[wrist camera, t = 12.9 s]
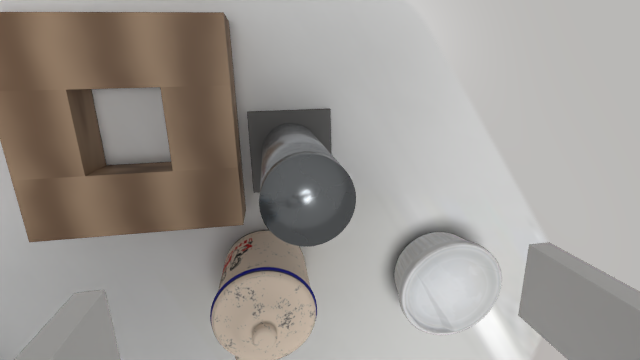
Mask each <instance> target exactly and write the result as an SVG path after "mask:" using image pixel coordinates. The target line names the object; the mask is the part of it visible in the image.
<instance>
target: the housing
mask: <svg viewBox="0 0 640 360" xmlns="http://www.w3.org/2000/svg"><path fill="white" fill-rule="evenodd" d="M146 87H160V88H161V95H162V102H163V108H164V115H165V122H166V129H167V136H168V142H169V149H170V156H171V162H160V163H141V164H123V165H106V161H105V156H104V151H103V146H102V141H101V136H100V131H99V126H98V121H97V116H96V111H95V106H94V101H93V96H92V91H91V89H107V88H146ZM0 141H1V144H2V148H3V151H4V155H5V158H6V162H7V165H8V169H9V172H10V176H11V179H12V183H13V186H14V190H15V193H16V197H17V201H18V204H19V208H20V211H21V215H22V218H23V222H24V225H25V229H26V232H27V236H28V239H29V242H37V241H50V240H62V239H75V238H87V237H99V236H112V235H124V234H137V233H149V232H161V231H174V230H186V229H199V228H211V227H223V226H236V225H243V223H244V217H245V211H246V207H245V196H244V184H243V173H242V162H241V151H240V140H239V129H238V118H237V107H236V96H235V85H234V74H233V62H232V51H231V40H230V29H229V21H228V19H227V18H226V16H225V14H224V13H193V12H0Z"/></svg>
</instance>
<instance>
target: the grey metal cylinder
mask: <svg viewBox="0 0 640 360" xmlns="http://www.w3.org/2000/svg"><path fill="white" fill-rule="evenodd" d="M355 204H356V193H355V188H354V185H353V182H352V180H351V178H350V176H349V175H348V173H347V172H346V171H345V170H344V168H343V167H342V166H341V165H340V164H339V163H338V162H337V160H336V159H335V158H334V157H333V156H332V155H331V154H330V152H329V151H328V150H327V149H326V148H325V147H324V146H323V145H322V143H321V142H320V141H319V140H318V139H317V138H316V137H315V135H314V134H313V133H312V132H311V131H310V130H309V129H308V128H306V127H304V126H302V125H300V124H295V123H286V124H282V125H279V126H277V127H276V128H274V129H273V130H272V131H271V132H270V133H269V134H268V135H267V137H266V138H265V141H264V144H263V150H262V166H261V182H260V198H259V206H260V213H261V216H262V219H263V221H264V223H265V225H266V226H267V228H268V229H269V230H270V231H271V232H272V233H273V234H274V235H275V236H276V237H277V238H279V239H280V240H282V241H284V242H286V243H289V244H292V245H296V246H315V245H319V244H323V243H325V242H327V241H329V240H331V239H333V238H334V237H336V236H337V235H338V234H340V233H341V232H342V231H343V230H344V228H345V227H346V226H347V225H348V223H349V222H350V220H351V218H352V215H353V213H354V209H355Z"/></svg>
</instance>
